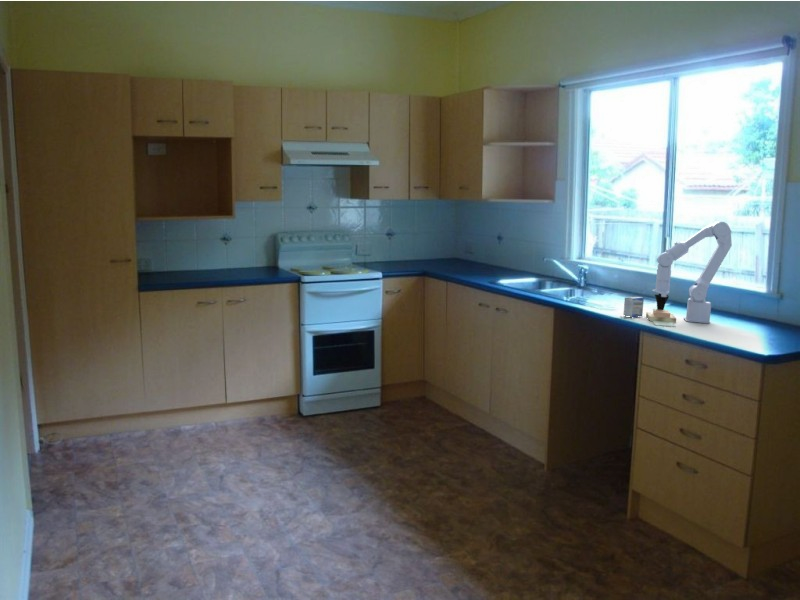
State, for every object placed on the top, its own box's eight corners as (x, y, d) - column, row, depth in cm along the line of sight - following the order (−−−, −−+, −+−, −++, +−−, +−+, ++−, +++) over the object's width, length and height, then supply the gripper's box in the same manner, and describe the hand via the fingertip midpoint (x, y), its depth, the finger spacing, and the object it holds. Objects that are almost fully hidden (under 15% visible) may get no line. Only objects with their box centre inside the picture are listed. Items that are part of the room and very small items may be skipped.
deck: (672, 318, 321) (672, 314, 321) (675, 323, 310) (676, 318, 310) (646, 316, 323) (646, 312, 323) (648, 321, 313) (649, 316, 312)
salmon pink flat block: (667, 314, 319) (667, 310, 319) (670, 318, 310) (670, 313, 310) (653, 313, 320) (653, 309, 320) (655, 316, 312) (655, 312, 311)
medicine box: (631, 318, 319) (633, 298, 317) (622, 316, 322) (624, 297, 321) (642, 316, 323) (644, 297, 322) (634, 315, 327) (635, 296, 325)
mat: (672, 322, 310) (672, 322, 310) (675, 326, 301) (675, 326, 301) (652, 321, 312) (652, 320, 312) (655, 325, 303) (655, 324, 303)
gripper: (651, 277, 326) (648, 307, 328) (655, 281, 312) (652, 313, 314) (668, 279, 325) (665, 309, 327) (672, 282, 311) (669, 314, 313)
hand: (660, 311), depth 320 cm, fingers closed
